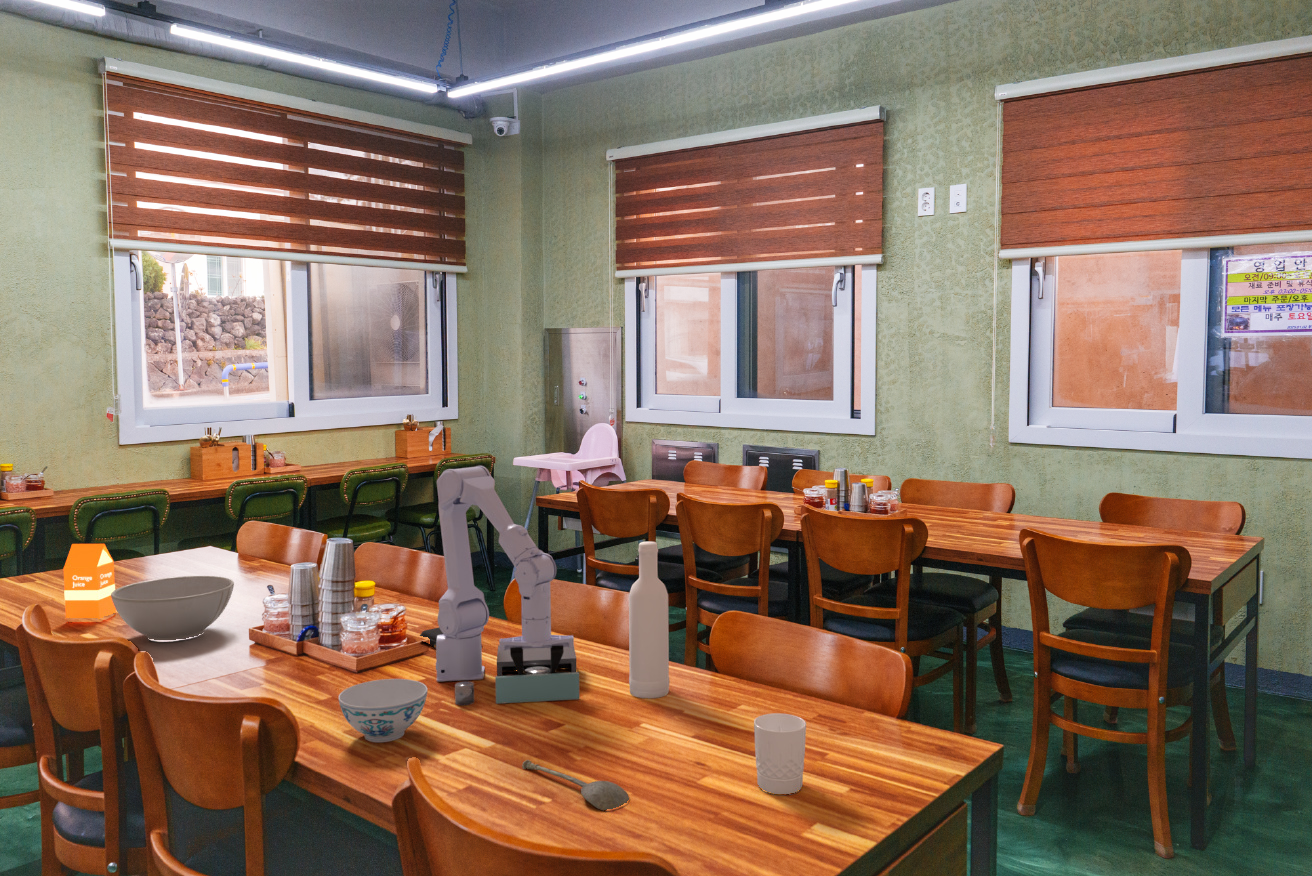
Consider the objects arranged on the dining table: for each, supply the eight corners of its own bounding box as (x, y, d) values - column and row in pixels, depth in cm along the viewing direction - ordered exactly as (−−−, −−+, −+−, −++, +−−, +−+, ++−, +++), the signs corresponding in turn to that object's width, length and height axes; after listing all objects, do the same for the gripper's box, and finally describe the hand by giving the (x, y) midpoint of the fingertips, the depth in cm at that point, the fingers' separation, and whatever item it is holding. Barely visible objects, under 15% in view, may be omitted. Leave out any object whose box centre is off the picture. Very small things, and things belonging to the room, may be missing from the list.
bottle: (677, 691, 189) (676, 542, 187) (650, 702, 184) (649, 547, 182) (648, 683, 195) (647, 537, 193) (620, 692, 189) (619, 543, 187)
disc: (523, 679, 191) (523, 667, 191) (549, 677, 192) (549, 665, 192) (525, 687, 186) (524, 675, 186) (551, 685, 187) (551, 673, 187)
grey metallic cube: (454, 706, 182) (454, 688, 182) (456, 699, 186) (455, 682, 186) (473, 704, 183) (473, 687, 183) (474, 698, 186) (474, 681, 186)
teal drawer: (495, 703, 183) (495, 678, 183) (497, 683, 195) (497, 659, 194) (579, 699, 185) (579, 673, 185) (575, 679, 197) (575, 656, 196)
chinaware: (444, 725, 172) (443, 683, 172) (396, 756, 158) (395, 711, 158) (374, 716, 177) (373, 675, 177) (321, 745, 163) (319, 701, 163)
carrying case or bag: (411, 643, 226) (444, 656, 216) (411, 630, 226) (444, 643, 215) (451, 635, 234) (484, 647, 223) (451, 622, 234) (484, 634, 223)
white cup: (749, 776, 149) (749, 714, 149) (799, 774, 150) (799, 712, 149) (759, 798, 142) (759, 732, 141) (811, 796, 142) (811, 730, 142)
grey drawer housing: (497, 688, 192) (496, 662, 192) (498, 670, 204) (498, 645, 204) (576, 684, 194) (576, 658, 194) (573, 667, 206) (573, 642, 206)
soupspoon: (606, 823, 136) (638, 810, 141) (607, 800, 136) (639, 788, 141) (510, 775, 151) (542, 764, 156) (511, 754, 151) (542, 744, 156)
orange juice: (99, 623, 246) (95, 546, 245) (65, 623, 246) (61, 546, 245) (116, 615, 254) (113, 541, 253) (83, 615, 254) (80, 541, 253)
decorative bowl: (258, 631, 238) (256, 583, 237) (152, 658, 215) (150, 605, 214) (195, 617, 252) (193, 571, 251) (90, 641, 229) (88, 591, 229)
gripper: (498, 623, 183) (499, 692, 184) (574, 620, 185) (575, 688, 186) (499, 614, 190) (500, 681, 191) (572, 611, 192) (573, 677, 193)
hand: (537, 684), depth 189 cm, fingers closed on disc, 5 cm apart
